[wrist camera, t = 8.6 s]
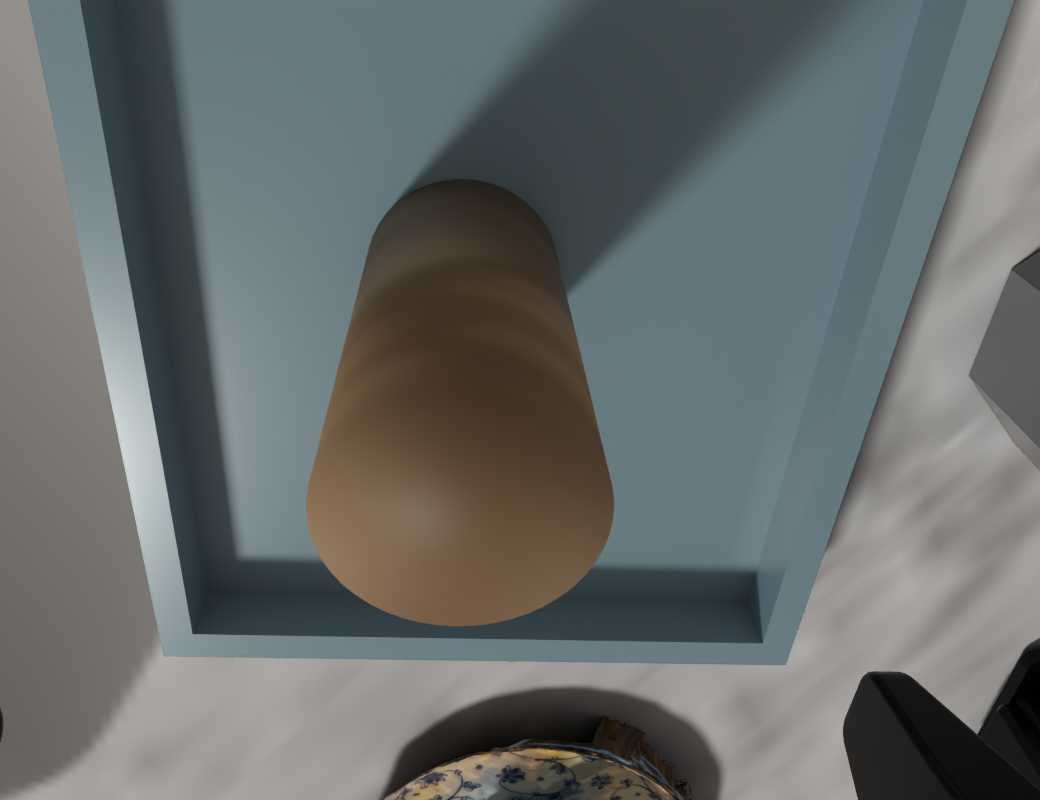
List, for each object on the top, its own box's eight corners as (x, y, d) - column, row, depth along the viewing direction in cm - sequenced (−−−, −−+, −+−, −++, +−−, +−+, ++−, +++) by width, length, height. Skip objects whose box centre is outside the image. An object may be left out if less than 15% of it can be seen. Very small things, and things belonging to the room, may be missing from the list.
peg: (567, 185, 17) (633, 390, 10) (549, 360, 19) (595, 627, 12) (364, 173, 17) (295, 379, 10) (368, 353, 19) (314, 625, 12)
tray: (1020, -273, 14) (1116, -296, 12) (758, 596, 25) (785, 665, 23) (26, -378, 13) (-60, -425, 11) (191, 585, 24) (163, 656, 21)
